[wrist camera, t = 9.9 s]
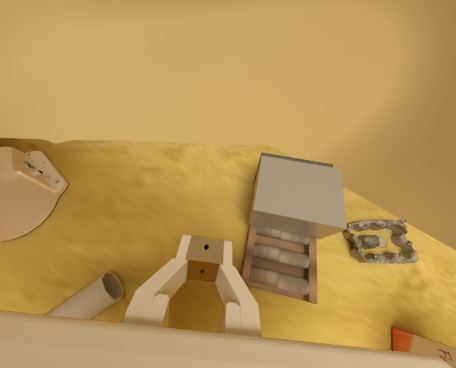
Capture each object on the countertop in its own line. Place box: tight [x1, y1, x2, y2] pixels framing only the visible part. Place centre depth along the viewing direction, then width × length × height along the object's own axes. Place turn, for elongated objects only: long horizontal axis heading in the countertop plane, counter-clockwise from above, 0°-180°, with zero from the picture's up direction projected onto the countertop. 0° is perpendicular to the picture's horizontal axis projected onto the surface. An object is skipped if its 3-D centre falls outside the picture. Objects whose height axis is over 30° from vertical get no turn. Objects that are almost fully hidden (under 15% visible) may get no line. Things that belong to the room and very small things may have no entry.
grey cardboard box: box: [248, 156, 347, 239], centre depth 30 cm, size 10×13×8 cm
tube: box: [45, 272, 124, 320], centre depth 25 cm, size 5×5×25 cm
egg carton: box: [343, 220, 418, 263], centre depth 32 cm, size 11×8×4 cm
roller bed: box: [241, 153, 333, 304], centre depth 31 cm, size 22×13×9 cm, turn 167°
